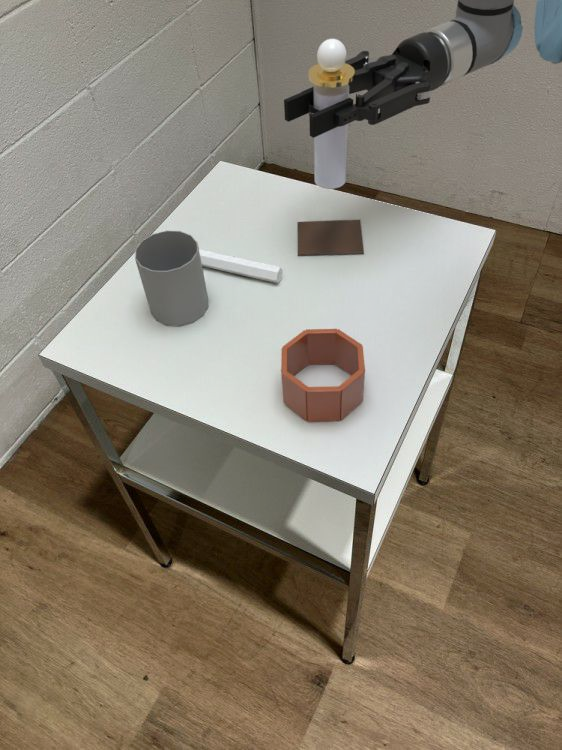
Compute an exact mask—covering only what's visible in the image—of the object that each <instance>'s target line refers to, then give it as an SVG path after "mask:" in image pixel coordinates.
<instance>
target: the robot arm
mask: <svg viewBox="0 0 562 750" xmlns="http://www.w3.org/2000/svg"><path fill="white" fill-rule="evenodd" d="M514 3H515V0H457V4H456V11H455V17H454V18H453V19H451V20H448V21H446V22H444V23H441V24H439V25H437V26H436V25H435V26H434V27H432V28H429V29H426V30H424V31H423V32H420V33H417V34H415V35H413V36H410V37H407V38H405V39H404V40H402V41H401V42H399V44H398V45H397V47H396V48H395V49H394V51H393V52H392V53H391V54H389V55H383V56H382V55H381V56H380V57H378V58H374V57H370V51H368V50H362V51H360V52H359V53H358V54H357V55H356V56H354V57H351V58H349V59H346V62H345V63H346V64H349V65H351V66H352V67H353V68H354V70H355V77H354V79H353V81H352V82H350V83H349V84H348V85H349V95H351V94H355V93H356V94H355V103H354V99H353V98H351V97H349V98H347V99H345V100H343V101H341V102H338V103H336V104H334V105H332V106H329V107H327V108H325V109H323V110H320V111H318V112H316V113H312V114H311V115H309V103H310V105H311V106H312V107H313V108H314V89H313V88H314V86H315V85H313V86H310V87H308V88H306V89H304V90H302V91H301V92H299V93H296V94H293V95H292V96H289V97H287V98H285V99H283V110H284V111H283V112H284V121H286V122H287V123H289V122H292V121H294V120H296V119H299V118H300V117H303V116H306V115H308V117H309V118H308V119H309V120H308V121H309V136H310V137H311V138H312V139H314V137H317V136H319V135H321V134H323V133H325V132H327V131H330V130H332V129H334V128H336V127H338V126H339V127H341V126H344V125H346V124H348V125H349V124H350V123H351V124H352V123H353V122H355V121H357V122H363V121H364V120H366V121H367V124H369V125H370V126H375V125H378V124H380V123H382V122H384V121H387V120H389V119H390V118H393V117H395V116H397V115H399V114H401V113H404V112H406V111H408V110H410V109H412V108H415V107H418V106H423V105H427V104H430V101H431V94H432V91H435V90H437V89H439V88H440V87H442V86H445V85H447V84H448V83H451V82H453V81H455V80H457V79H460V78H462V77H464V76H467V75H469V74H471V73H473V72H475V71H478V70H480V69H482V68H484V67H487V66H490V65H493V64H494V63H497V62H499V61H500V60H501V59H503V58H504V57H505V56H507V55H509V54H511V53H512V52H513V51H514V50H515V49H516V48H517V46H518V44H519V43H520V41H521V38H522V35H523V25H522V15H521V13H520V11H519V9H518V7H516V6H515V4H514ZM534 42H535V48H536V50H537V52H538V54H539V57H540V58H541V59H542V60H543V61H546V62H550V63H551V64H552V65H553V64H554V65H556V64H561V63H562V0H536V7H535V14H534ZM362 91H366V92H364V93H363V94H359V92H362ZM310 112H311V111H310Z"/></svg>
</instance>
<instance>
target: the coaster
mask: <svg viewBox="0 0 562 750" xmlns="http://www.w3.org/2000/svg"><path fill="white" fill-rule="evenodd" d="M364 254H365V251H364V240H363V232H362V222H361V219H340V220H339V219H338V220H314V221H313V220H310V221H309V220H307V221H297V256H298V257H311V256H312V257H314V256H315V257H317V256H343V255H345V256H347V255H364Z"/></svg>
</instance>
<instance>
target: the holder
mask: <svg viewBox="0 0 562 750" xmlns="http://www.w3.org/2000/svg"><path fill="white" fill-rule="evenodd" d="M280 359H281V361H280V362H281V363H280V365H281V366H280V373H281V374H280V376H281V386H282V387H281V388H282V401H283V404H284V406H286V407H287V408H289V409H290V410H291V411H293V412H294V414H296V415H298V416H299V417H300V418H301V419H303V420H304V421H305V422H307V423H319V422H320V423H321V422H322V423H324V422H341V421H343V420H344V419H345V418H346V417H348V415H350V414H351V413H352V412H353V411H354V410H355V409H356V408H358V407H359V406H360V405H361V404H362V403H363V400H364V389H365V387H364V386H365V378H366V377H365V376H366V365H365V354H364V346H363V344H362V343H361V342H359V341H357V340H356V339H354V338H353V337H352V336H350V335H348V334H346V333H345V332H343V331H342V330H341V329H340V328H312V329H308V328H307V329H304V330H302V331H301V332H300V333H298V334H297V335H296V336H294V337H293V338H292V339H290V340H289V341H288V342H286V343H285V344H284V345H282V347H281V358H280ZM311 365H312V366H313V365H314V366H316V365H335V366H337V367H339V368H340V369H341V370H342V371H344V372H345V373H347V374H348V375H350V376H349V377H348V378H347V379H346V380H345V381H343V382H342V383H341V384H340V385H337V386H334V385H333V386H308V385H306V384H305V383H304V382H302V381H301V380H299V379H298V378H297V377H296V375H297V374H299V373H300V372H301V371H302V370H303V369H305V368H306V367H307V366H311Z"/></svg>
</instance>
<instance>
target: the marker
mask: <svg viewBox="0 0 562 750" xmlns="http://www.w3.org/2000/svg"><path fill="white" fill-rule="evenodd" d="M199 253H200V258H201V263H202V267H204V268H208V269H212V270H217V271H222V272H226V273H230V274H234V275H239V276H244V277H249V278H252V279H257V280H261V281H264V282H265V281H266V282H270V283H273V284H280V282H281V279H282V278H283V277H282V276H283V268H282V267H281V266H278V265H273V264H268V263H263V262H259V261H254V260H249V259H245V258H241V257H236V256H232V255H227V254H222V253H218V252H213V251H209V250H204V249H200V248H199Z"/></svg>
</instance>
